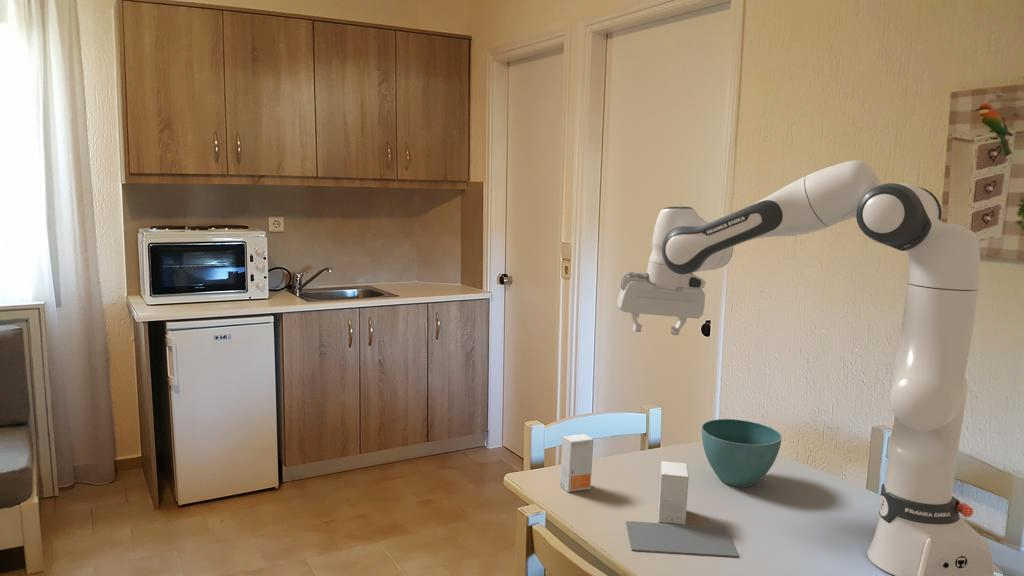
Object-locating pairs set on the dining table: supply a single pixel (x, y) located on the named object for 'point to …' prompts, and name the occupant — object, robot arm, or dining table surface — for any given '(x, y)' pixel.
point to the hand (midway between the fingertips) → (655, 333)
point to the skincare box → (576, 462)
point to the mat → (680, 539)
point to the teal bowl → (740, 450)
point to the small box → (673, 492)
